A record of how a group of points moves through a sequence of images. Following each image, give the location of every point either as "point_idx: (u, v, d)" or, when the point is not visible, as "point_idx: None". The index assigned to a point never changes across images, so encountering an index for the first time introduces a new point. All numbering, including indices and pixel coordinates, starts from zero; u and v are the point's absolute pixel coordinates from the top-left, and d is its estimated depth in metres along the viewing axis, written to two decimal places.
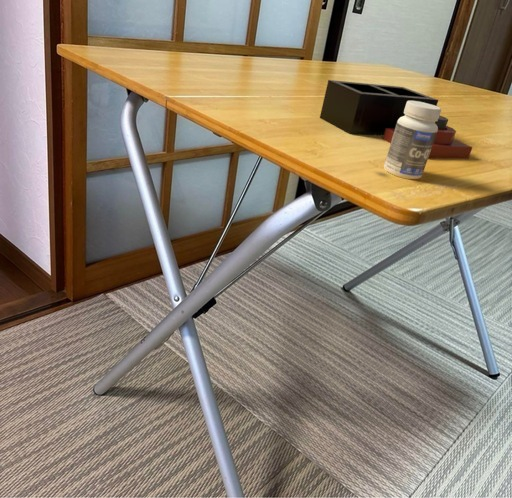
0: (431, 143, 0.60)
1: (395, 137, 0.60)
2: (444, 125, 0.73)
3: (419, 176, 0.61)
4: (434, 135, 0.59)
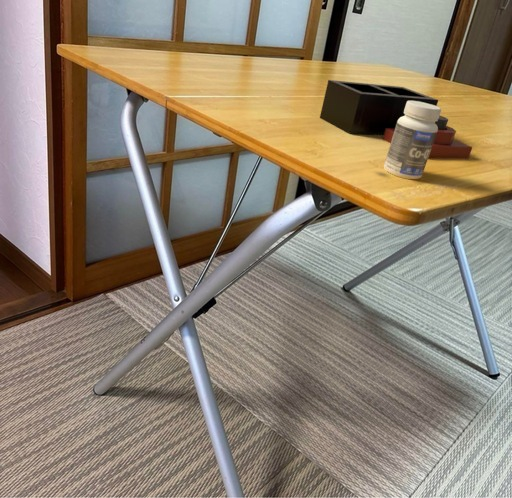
0: (431, 143, 0.60)
1: (395, 137, 0.60)
2: (444, 125, 0.73)
3: (419, 176, 0.61)
4: (434, 135, 0.59)
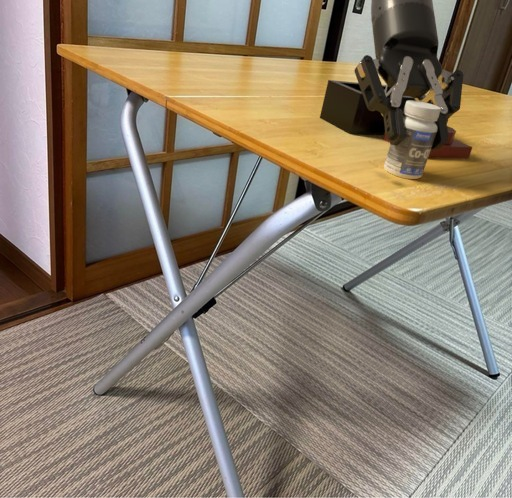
0: (431, 143, 0.60)
1: None
2: None
3: (419, 176, 0.61)
4: (434, 135, 0.59)
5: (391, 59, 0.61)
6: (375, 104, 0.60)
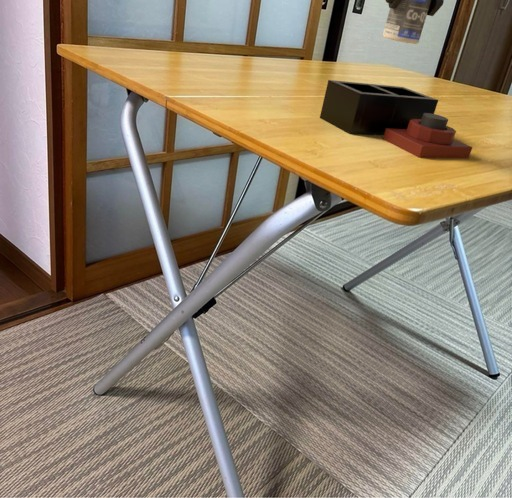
0: (427, 6, 0.64)
1: None
2: (444, 125, 0.73)
3: (416, 40, 0.66)
4: None
5: None
6: None
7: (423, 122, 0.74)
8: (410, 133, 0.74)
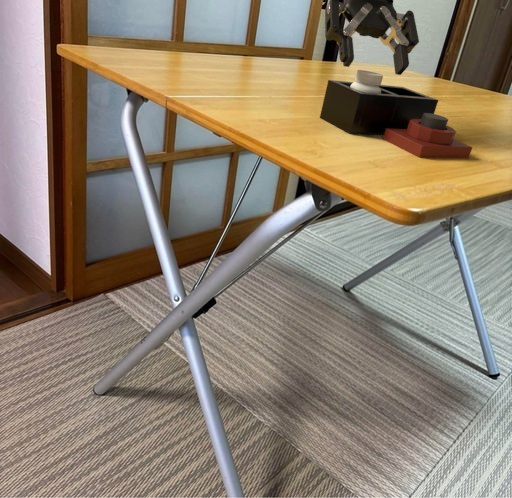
0: None
1: None
2: (444, 125, 0.73)
3: None
4: None
5: (354, 5, 0.77)
6: (331, 34, 0.75)
7: (423, 122, 0.74)
8: (410, 133, 0.74)
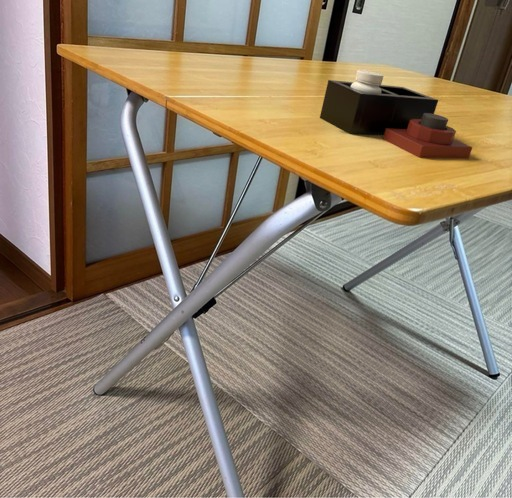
0: None
1: None
2: (444, 125, 0.73)
3: None
4: None
5: None
6: None
7: (423, 122, 0.74)
8: (410, 133, 0.74)
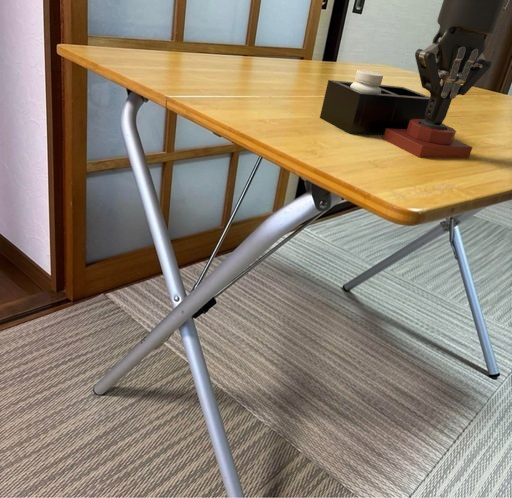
0: None
1: None
2: None
3: None
4: None
5: (449, 44, 0.67)
6: (429, 90, 0.71)
7: None
8: (410, 133, 0.74)
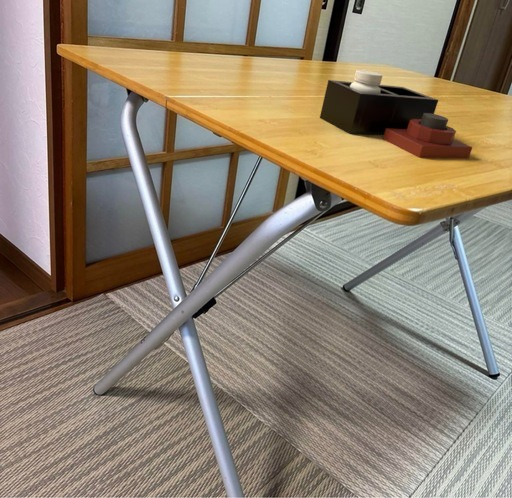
0: None
1: None
2: (444, 125, 0.73)
3: None
4: None
5: None
6: None
7: (423, 122, 0.74)
8: (410, 133, 0.74)
